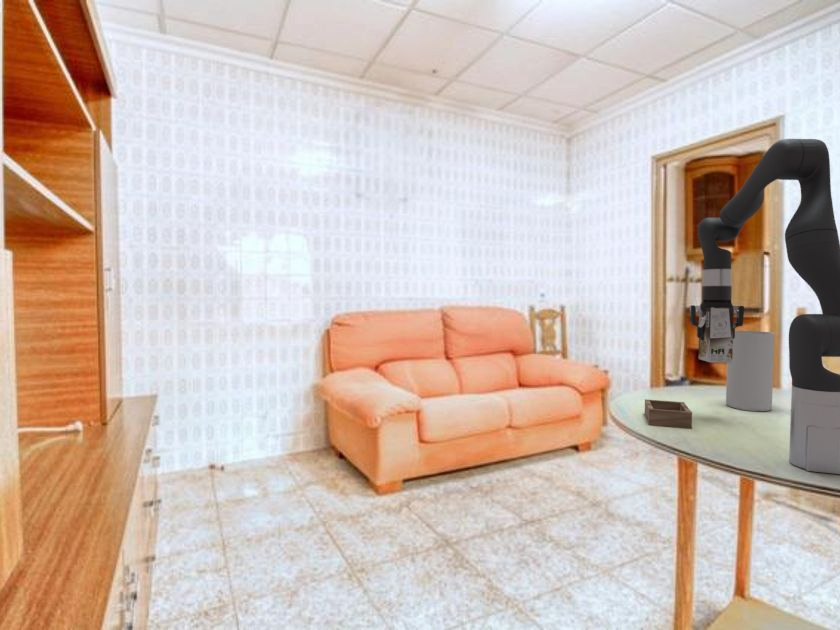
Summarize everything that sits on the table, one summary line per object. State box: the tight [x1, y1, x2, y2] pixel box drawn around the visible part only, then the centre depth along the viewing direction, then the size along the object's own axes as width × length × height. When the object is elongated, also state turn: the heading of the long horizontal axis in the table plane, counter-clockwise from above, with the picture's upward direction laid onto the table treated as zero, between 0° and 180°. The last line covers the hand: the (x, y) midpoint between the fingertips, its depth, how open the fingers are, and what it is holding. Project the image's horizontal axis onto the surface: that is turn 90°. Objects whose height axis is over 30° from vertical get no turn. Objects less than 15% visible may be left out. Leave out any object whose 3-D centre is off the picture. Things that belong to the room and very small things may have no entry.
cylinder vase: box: [725, 330, 775, 413], centre depth 157 cm, size 12×12×25 cm
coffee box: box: [698, 308, 735, 364], centre depth 142 cm, size 9×6×16 cm
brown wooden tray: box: [644, 398, 693, 430], centre depth 141 cm, size 14×11×4 cm
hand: (715, 340), depth 142 cm, fingers closed on coffee box, 7 cm apart
